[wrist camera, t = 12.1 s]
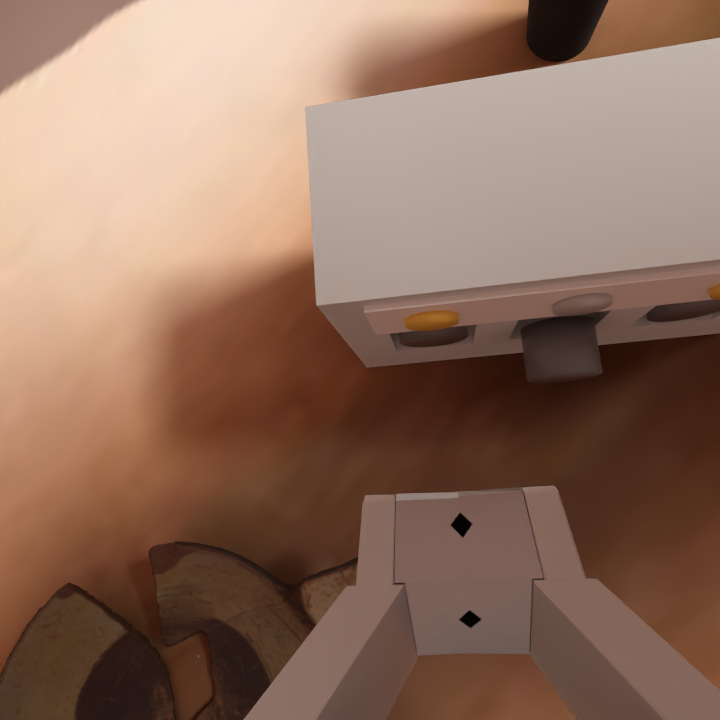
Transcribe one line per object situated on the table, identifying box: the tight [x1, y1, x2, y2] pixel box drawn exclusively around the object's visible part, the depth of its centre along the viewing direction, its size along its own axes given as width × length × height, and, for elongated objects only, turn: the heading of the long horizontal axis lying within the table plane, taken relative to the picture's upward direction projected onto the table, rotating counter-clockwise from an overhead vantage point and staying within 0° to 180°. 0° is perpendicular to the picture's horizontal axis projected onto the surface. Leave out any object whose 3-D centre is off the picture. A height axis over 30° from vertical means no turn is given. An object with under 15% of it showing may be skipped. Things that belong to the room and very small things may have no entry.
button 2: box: [520, 316, 603, 383], centre depth 31 cm, size 3×4×4 cm
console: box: [305, 38, 720, 368], centre depth 31 cm, size 11×24×16 cm, turn 94°
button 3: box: [399, 326, 468, 347], centre depth 32 cm, size 3×4×4 cm
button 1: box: [646, 299, 720, 322], centre depth 30 cm, size 3×4×4 cm
